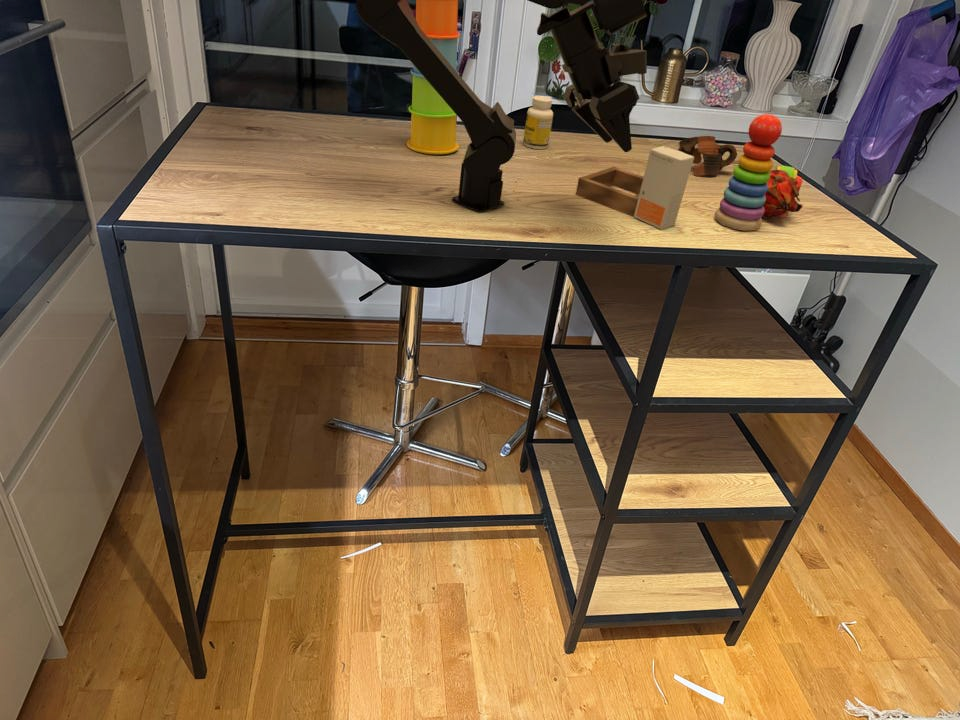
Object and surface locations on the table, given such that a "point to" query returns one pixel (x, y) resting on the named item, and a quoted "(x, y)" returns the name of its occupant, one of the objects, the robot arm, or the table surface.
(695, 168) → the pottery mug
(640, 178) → the square wooden frame
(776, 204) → the dragon fruit
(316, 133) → the table surface
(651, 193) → the skincare box
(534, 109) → the supplement bottle
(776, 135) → the stacking toy
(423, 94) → the stacking cups
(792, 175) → the toy measuring tape
